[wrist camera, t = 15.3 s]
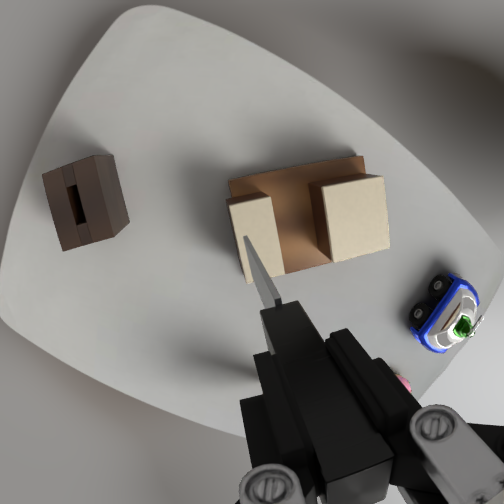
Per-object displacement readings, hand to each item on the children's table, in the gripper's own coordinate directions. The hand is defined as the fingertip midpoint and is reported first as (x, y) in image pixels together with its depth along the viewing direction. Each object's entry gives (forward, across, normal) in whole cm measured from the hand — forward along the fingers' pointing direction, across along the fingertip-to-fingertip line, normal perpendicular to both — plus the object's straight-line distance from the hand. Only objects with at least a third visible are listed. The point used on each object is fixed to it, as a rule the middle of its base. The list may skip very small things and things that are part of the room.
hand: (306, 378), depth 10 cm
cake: (+27, -12, +2) cm, 30 cm away
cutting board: (+29, -8, +2) cm, 30 cm away
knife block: (+29, +14, -6) cm, 33 cm away
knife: (+13, 0, 0) cm, 13 cm away
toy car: (+29, -28, +21) cm, 46 cm away
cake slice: (+27, -2, +2) cm, 27 cm away
